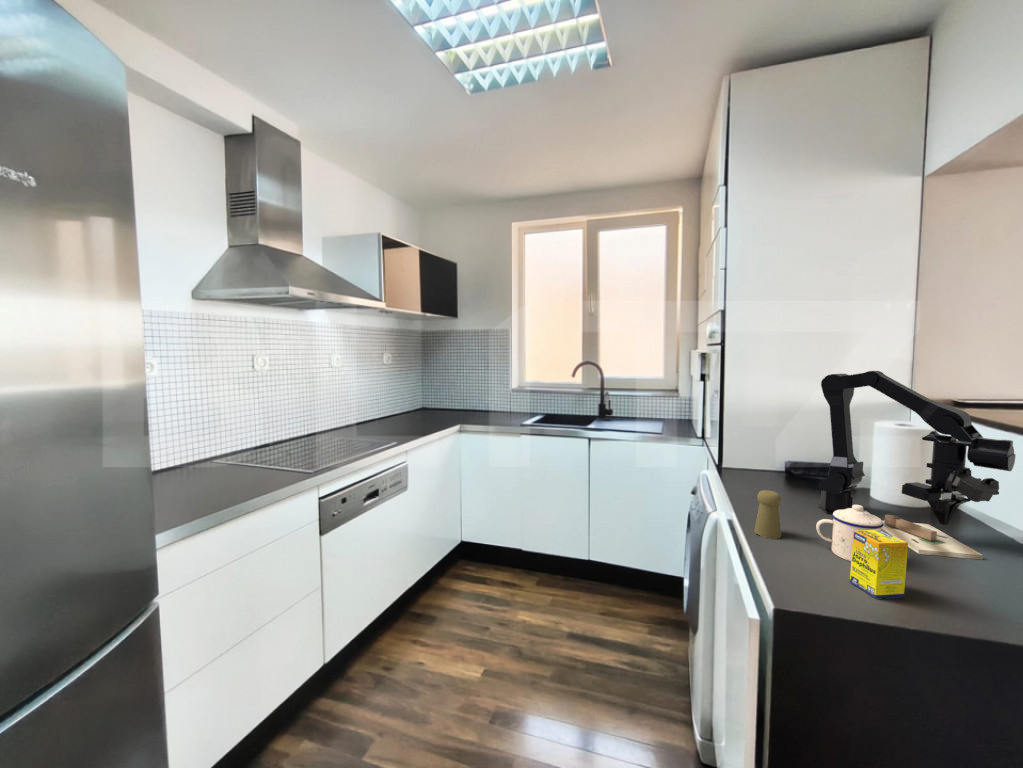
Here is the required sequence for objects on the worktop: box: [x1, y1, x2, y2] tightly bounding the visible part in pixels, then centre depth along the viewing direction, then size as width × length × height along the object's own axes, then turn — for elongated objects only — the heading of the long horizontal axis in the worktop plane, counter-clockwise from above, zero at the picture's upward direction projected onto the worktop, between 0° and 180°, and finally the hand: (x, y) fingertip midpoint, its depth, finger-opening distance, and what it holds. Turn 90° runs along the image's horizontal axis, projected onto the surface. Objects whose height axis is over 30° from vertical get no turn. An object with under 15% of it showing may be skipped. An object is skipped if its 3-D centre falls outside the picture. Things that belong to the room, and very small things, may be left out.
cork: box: [753, 489, 782, 540], centre depth 112 cm, size 6×6×11 cm
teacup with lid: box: [815, 504, 883, 562], centre depth 101 cm, size 12×9×12 cm
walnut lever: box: [884, 514, 937, 541], centre depth 110 cm, size 11×3×2 cm, turn 10°
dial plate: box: [882, 520, 984, 560], centre depth 108 cm, size 12×18×1 cm, turn 166°
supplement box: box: [849, 530, 909, 600], centre depth 86 cm, size 6×6×11 cm
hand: (943, 524), depth 108 cm, fingers closed
